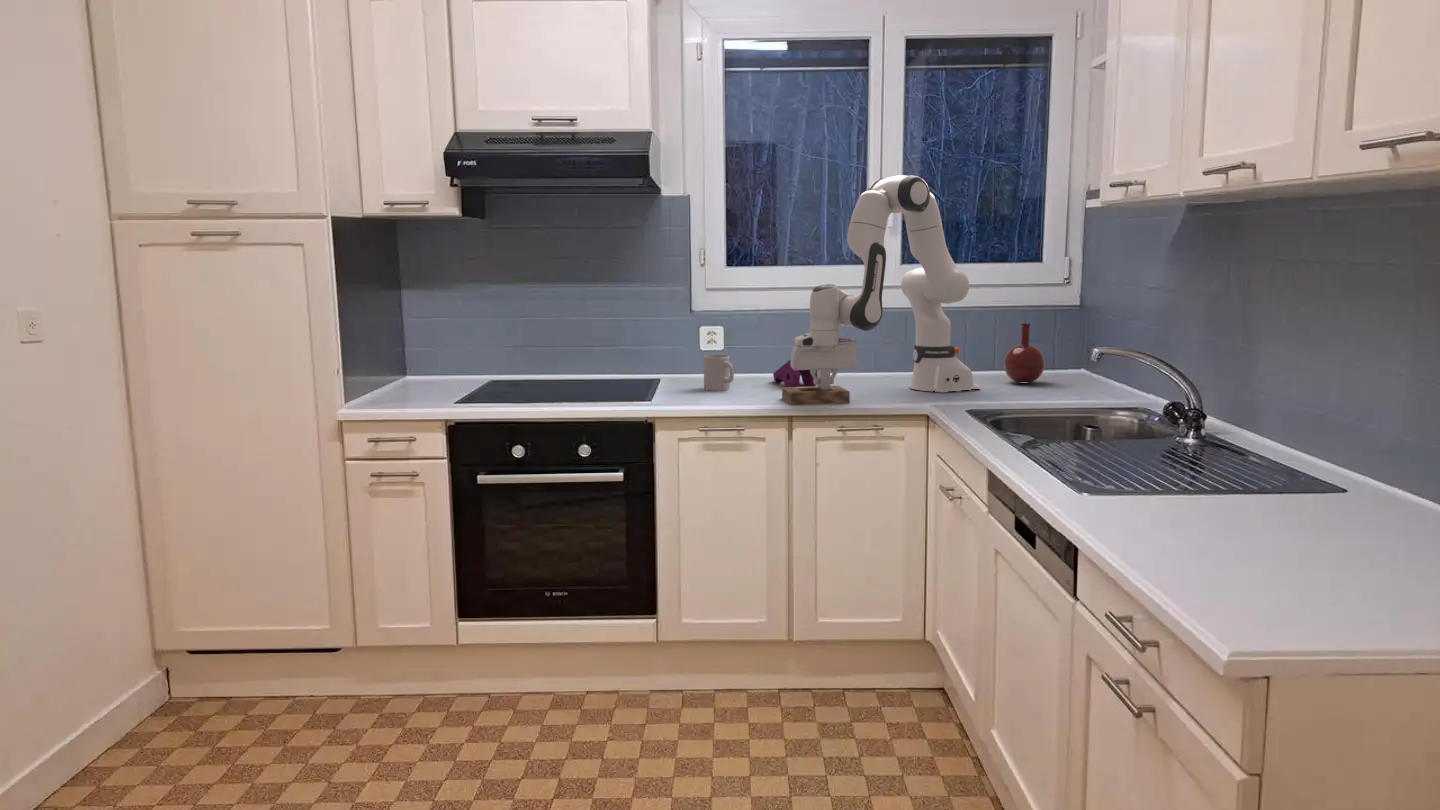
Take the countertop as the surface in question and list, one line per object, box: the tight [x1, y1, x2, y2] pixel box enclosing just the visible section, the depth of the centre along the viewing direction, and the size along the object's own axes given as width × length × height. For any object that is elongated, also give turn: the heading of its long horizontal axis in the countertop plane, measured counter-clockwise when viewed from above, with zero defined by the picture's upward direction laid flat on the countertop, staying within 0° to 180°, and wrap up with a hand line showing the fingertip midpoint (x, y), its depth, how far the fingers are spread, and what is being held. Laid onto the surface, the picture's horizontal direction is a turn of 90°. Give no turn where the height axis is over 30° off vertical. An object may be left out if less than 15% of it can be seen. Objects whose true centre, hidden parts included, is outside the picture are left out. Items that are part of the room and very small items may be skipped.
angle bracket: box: [816, 369, 831, 391], centre depth 299 cm, size 8×4×9 cm, turn 99°
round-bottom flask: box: [1003, 323, 1046, 383], centre depth 329 cm, size 13×13×20 cm
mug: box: [703, 354, 735, 391], centre depth 322 cm, size 12×8×11 cm
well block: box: [781, 384, 851, 406], centre depth 300 cm, size 18×12×4 cm, turn 99°
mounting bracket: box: [772, 359, 817, 387], centre depth 332 cm, size 9×8×18 cm
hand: (823, 383), depth 300 cm, fingers closed on angle bracket, 3 cm apart
